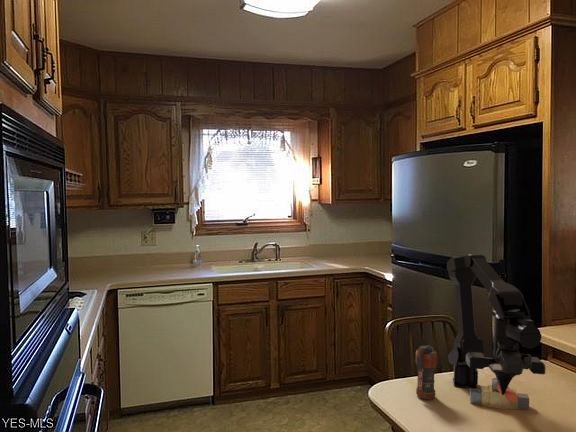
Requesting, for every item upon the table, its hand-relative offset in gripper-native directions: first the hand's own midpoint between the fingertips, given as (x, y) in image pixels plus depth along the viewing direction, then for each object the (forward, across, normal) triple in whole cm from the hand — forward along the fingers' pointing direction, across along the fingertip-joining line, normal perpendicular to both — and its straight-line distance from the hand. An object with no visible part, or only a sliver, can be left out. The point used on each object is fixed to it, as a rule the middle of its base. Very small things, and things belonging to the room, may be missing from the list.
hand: (502, 394), depth 128 cm
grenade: (+6, -19, +8) cm, 22 cm away
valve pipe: (+6, +1, +7) cm, 9 cm away
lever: (+1, +1, +3) cm, 4 cm away
